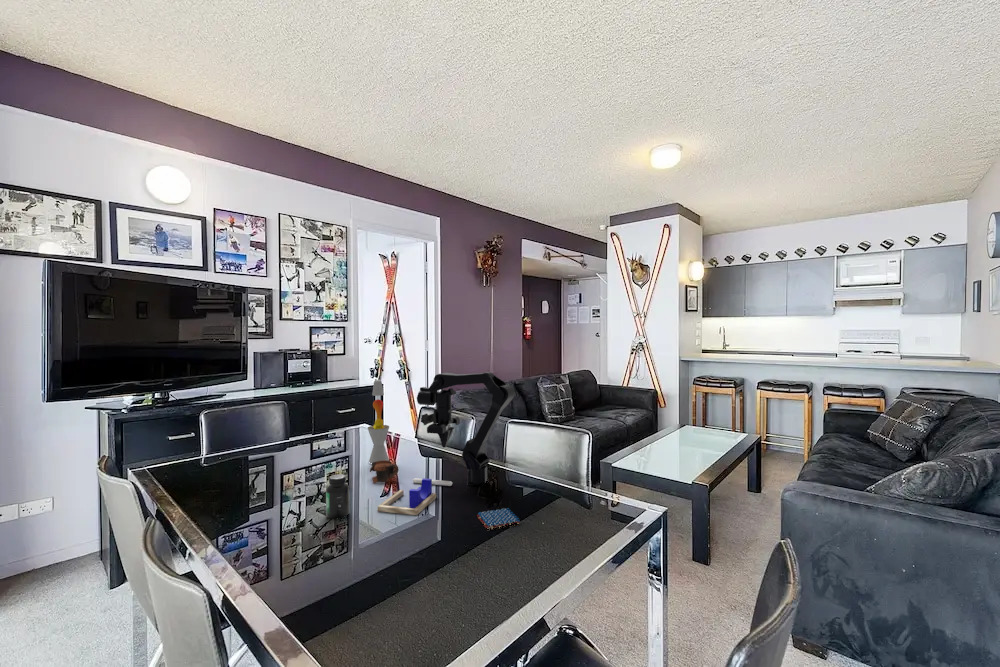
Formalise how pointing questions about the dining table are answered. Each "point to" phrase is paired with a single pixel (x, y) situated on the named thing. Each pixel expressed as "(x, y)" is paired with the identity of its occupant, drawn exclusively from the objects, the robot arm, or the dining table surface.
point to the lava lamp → (378, 427)
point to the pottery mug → (383, 471)
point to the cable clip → (420, 493)
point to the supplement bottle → (337, 497)
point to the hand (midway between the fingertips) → (444, 447)
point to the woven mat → (497, 518)
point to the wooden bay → (402, 510)
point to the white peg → (434, 482)
